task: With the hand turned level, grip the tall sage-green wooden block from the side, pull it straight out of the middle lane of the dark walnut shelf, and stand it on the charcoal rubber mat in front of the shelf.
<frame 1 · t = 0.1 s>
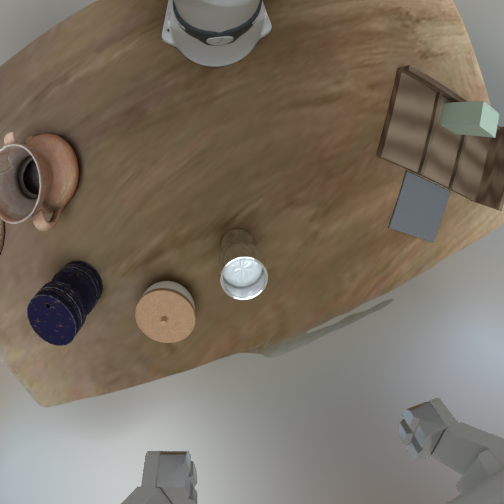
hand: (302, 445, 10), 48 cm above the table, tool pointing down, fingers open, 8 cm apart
lane shelf: (440, 135, 54), on the table
mat: (420, 208, 59), on the table
lidded jar: (170, 297, 60), on the table
ceramic jug: (53, 174, 49), on the table
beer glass: (237, 244, 58), on the table
block: (450, 118, 51), point 2 cm above the table, touching lane shelf
storage jar: (81, 282, 57), on the table
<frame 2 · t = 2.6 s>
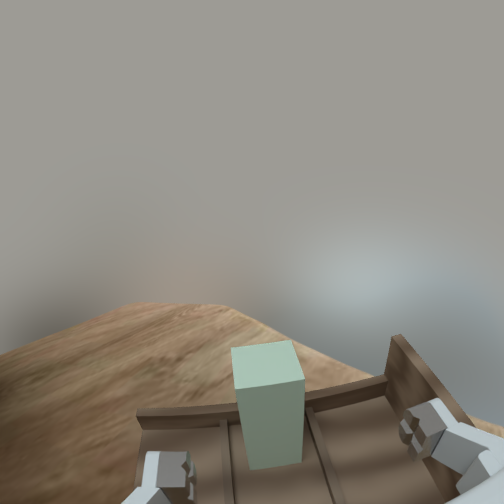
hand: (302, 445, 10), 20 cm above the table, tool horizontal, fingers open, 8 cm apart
lane shelf: (278, 487, 24), on the table
block: (272, 447, 27), point 2 cm above the table, touching lane shelf
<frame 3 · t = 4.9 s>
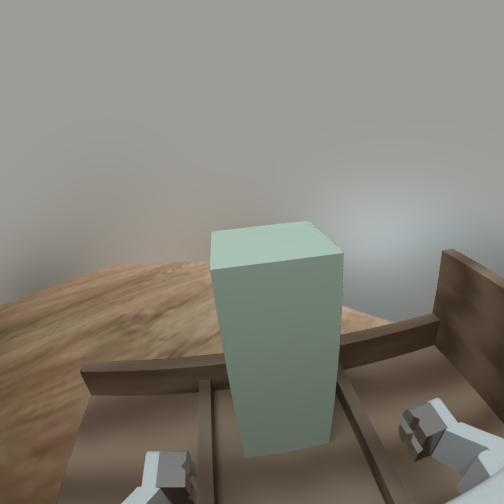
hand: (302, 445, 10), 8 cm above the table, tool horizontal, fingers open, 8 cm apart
lane shelf: (292, 485, 15), on the table
block: (280, 421, 18), point 2 cm above the table, touching lane shelf
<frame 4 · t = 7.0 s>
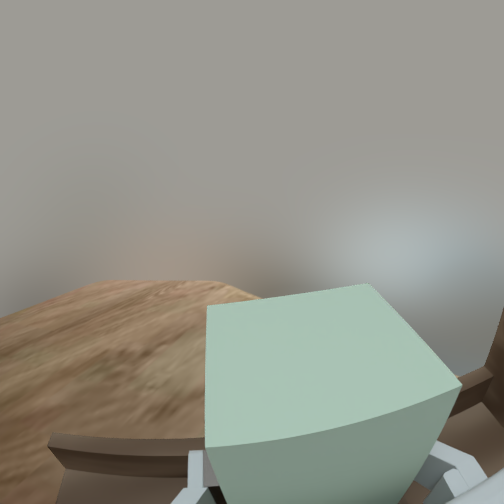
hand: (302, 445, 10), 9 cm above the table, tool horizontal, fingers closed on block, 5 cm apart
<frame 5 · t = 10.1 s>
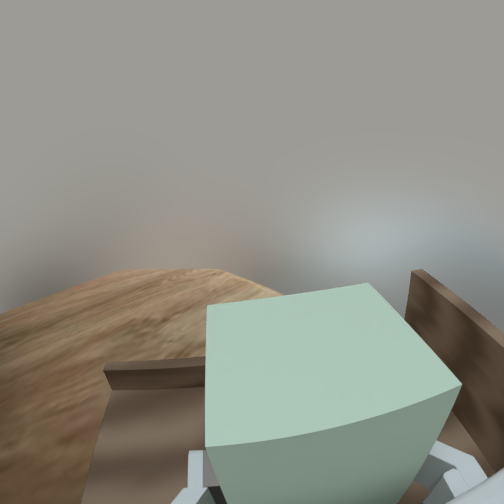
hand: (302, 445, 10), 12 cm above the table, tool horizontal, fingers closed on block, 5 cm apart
lane shelf: (278, 463, 20), on the table
when the fingers open (8 cm above the table, at t = 13.2 s): block drops 1 cm, resting on mat.
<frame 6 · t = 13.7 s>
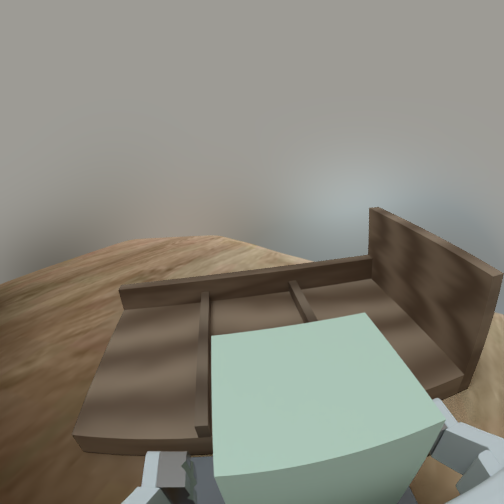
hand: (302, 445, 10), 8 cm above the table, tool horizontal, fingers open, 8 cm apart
lane shelf: (261, 356, 27), on the table
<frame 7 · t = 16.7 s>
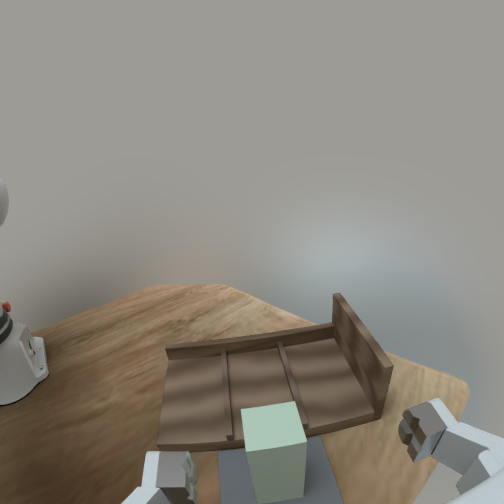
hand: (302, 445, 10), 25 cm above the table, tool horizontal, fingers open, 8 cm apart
lane shelf: (259, 392, 44), on the table
mat: (277, 484, 29), on the table
block: (277, 483, 28), resting on mat
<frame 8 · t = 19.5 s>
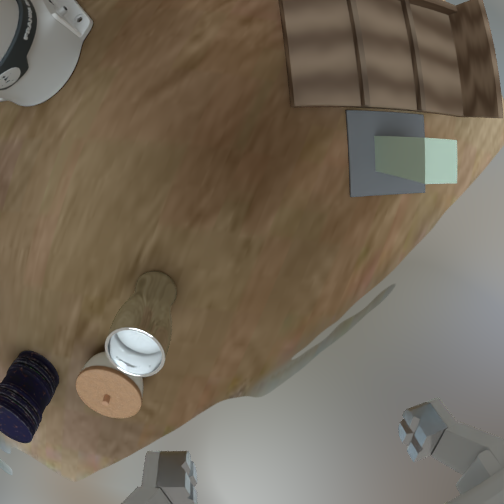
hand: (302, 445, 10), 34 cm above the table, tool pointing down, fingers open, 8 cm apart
lane shelf: (378, 44, 35), on the table
mat: (388, 153, 41), on the table
lidded jar: (118, 364, 48), on the table
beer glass: (156, 289, 44), on the table
block: (390, 153, 40), resting on mat
storage jar: (38, 370, 47), on the table
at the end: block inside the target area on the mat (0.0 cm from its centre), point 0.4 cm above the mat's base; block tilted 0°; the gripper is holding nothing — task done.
